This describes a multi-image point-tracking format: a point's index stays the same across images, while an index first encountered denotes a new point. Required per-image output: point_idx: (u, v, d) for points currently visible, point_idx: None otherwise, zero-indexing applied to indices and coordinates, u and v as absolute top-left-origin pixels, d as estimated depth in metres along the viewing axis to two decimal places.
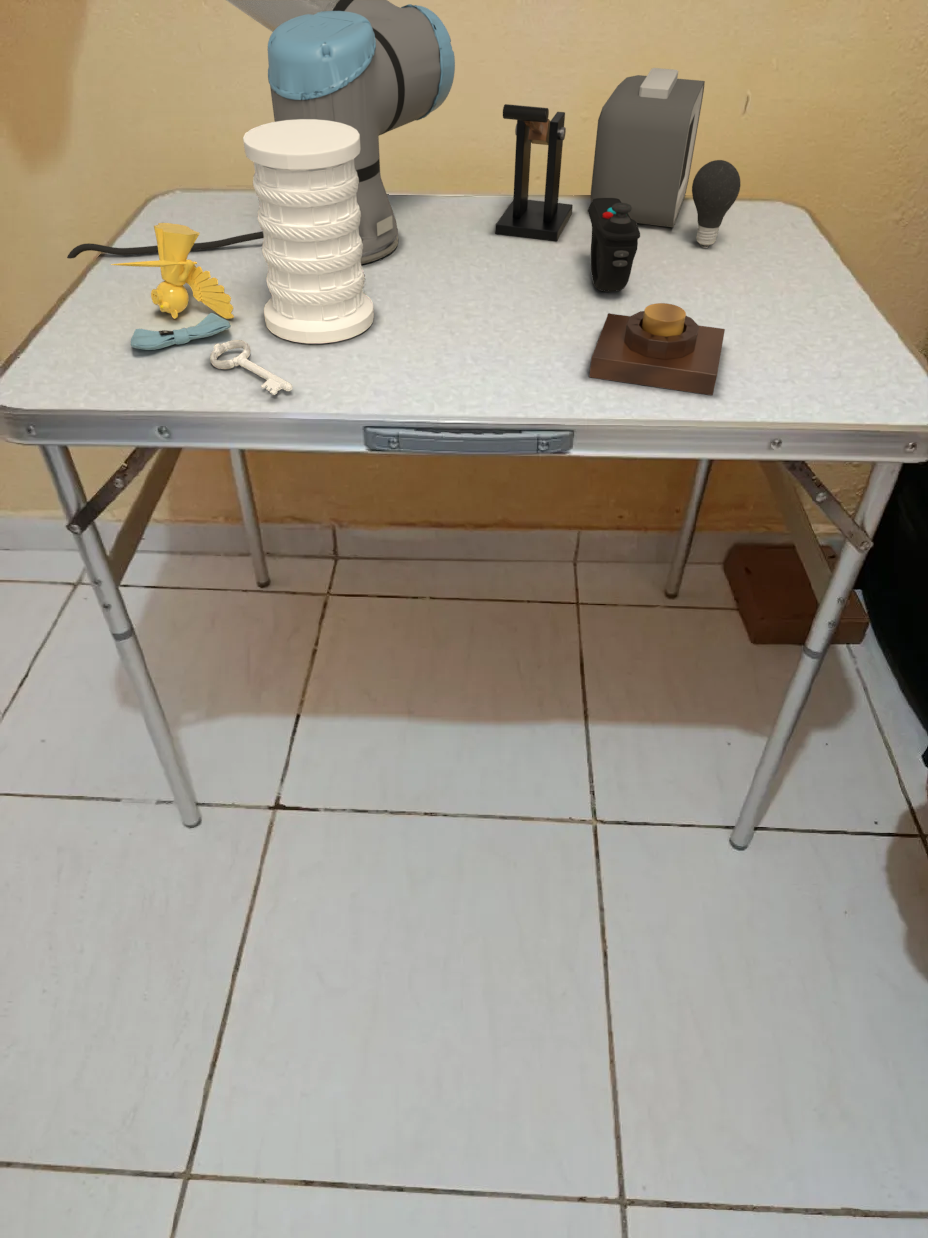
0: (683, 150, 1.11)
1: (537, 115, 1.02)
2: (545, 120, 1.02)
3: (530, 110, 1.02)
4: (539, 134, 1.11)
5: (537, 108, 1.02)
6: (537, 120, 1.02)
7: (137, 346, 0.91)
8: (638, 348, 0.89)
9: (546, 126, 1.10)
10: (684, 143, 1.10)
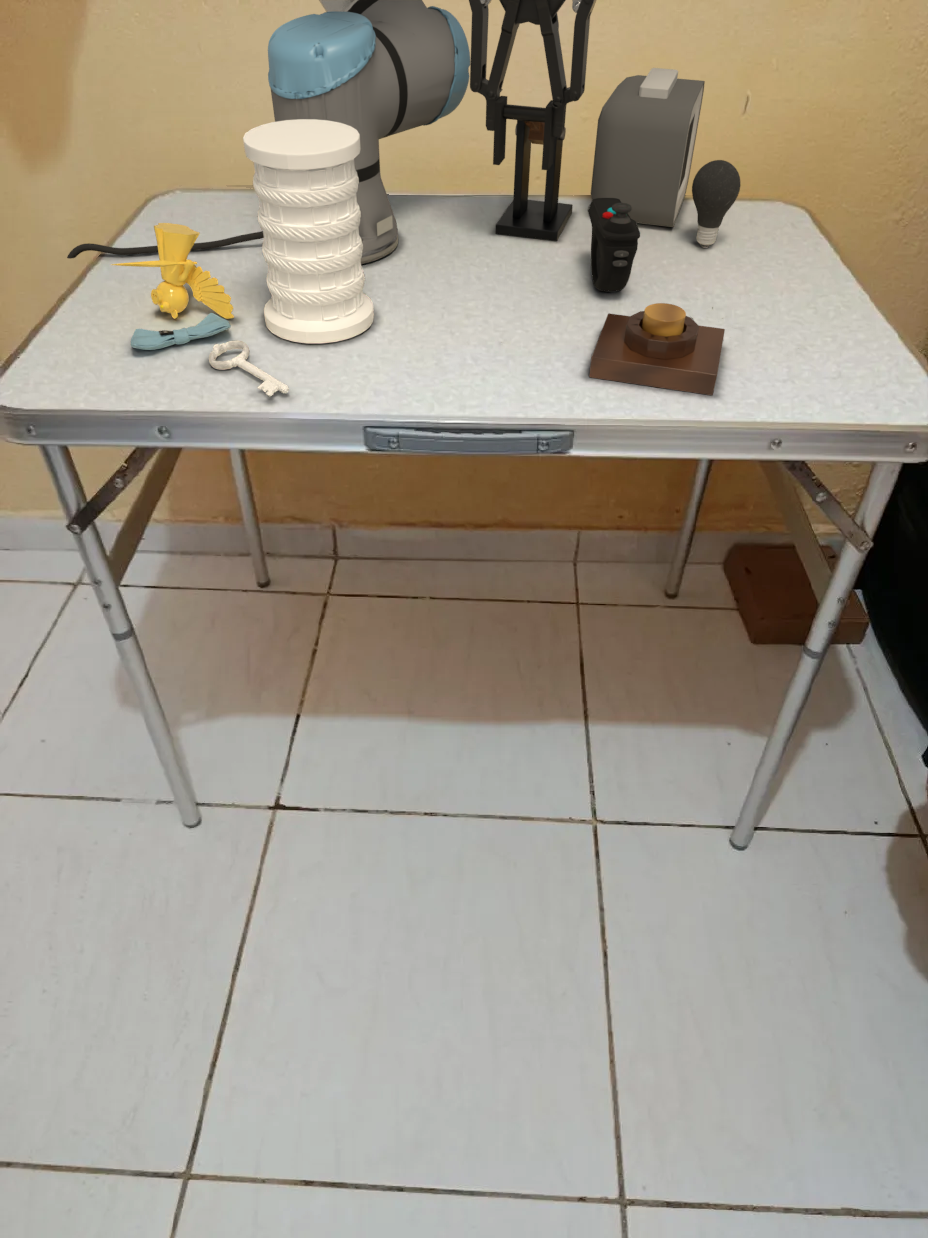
0: (683, 150, 1.11)
1: (537, 115, 1.02)
2: None
3: (530, 110, 1.02)
4: (539, 134, 1.11)
5: (537, 108, 1.02)
6: (537, 120, 1.02)
7: (137, 346, 0.91)
8: (638, 348, 0.89)
9: None
10: (684, 143, 1.10)
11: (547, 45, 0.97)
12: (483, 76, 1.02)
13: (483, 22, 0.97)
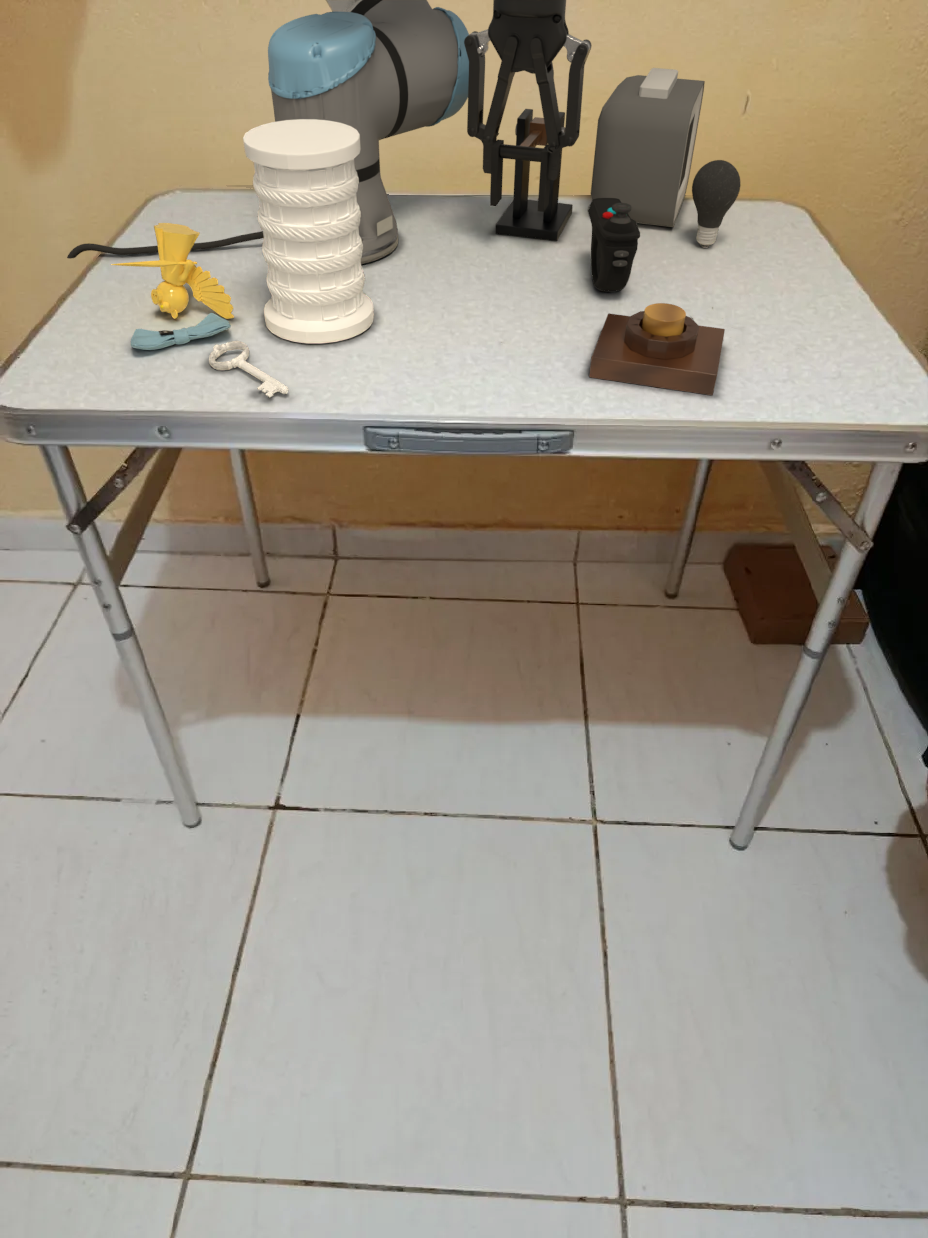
0: (683, 150, 1.11)
1: (533, 157, 1.04)
2: None
3: (526, 153, 1.04)
4: None
5: (532, 150, 1.04)
6: None
7: (137, 346, 0.91)
8: (638, 348, 0.89)
9: (545, 131, 1.11)
10: (684, 143, 1.10)
11: (542, 93, 0.99)
12: (480, 121, 1.04)
13: (480, 70, 1.00)
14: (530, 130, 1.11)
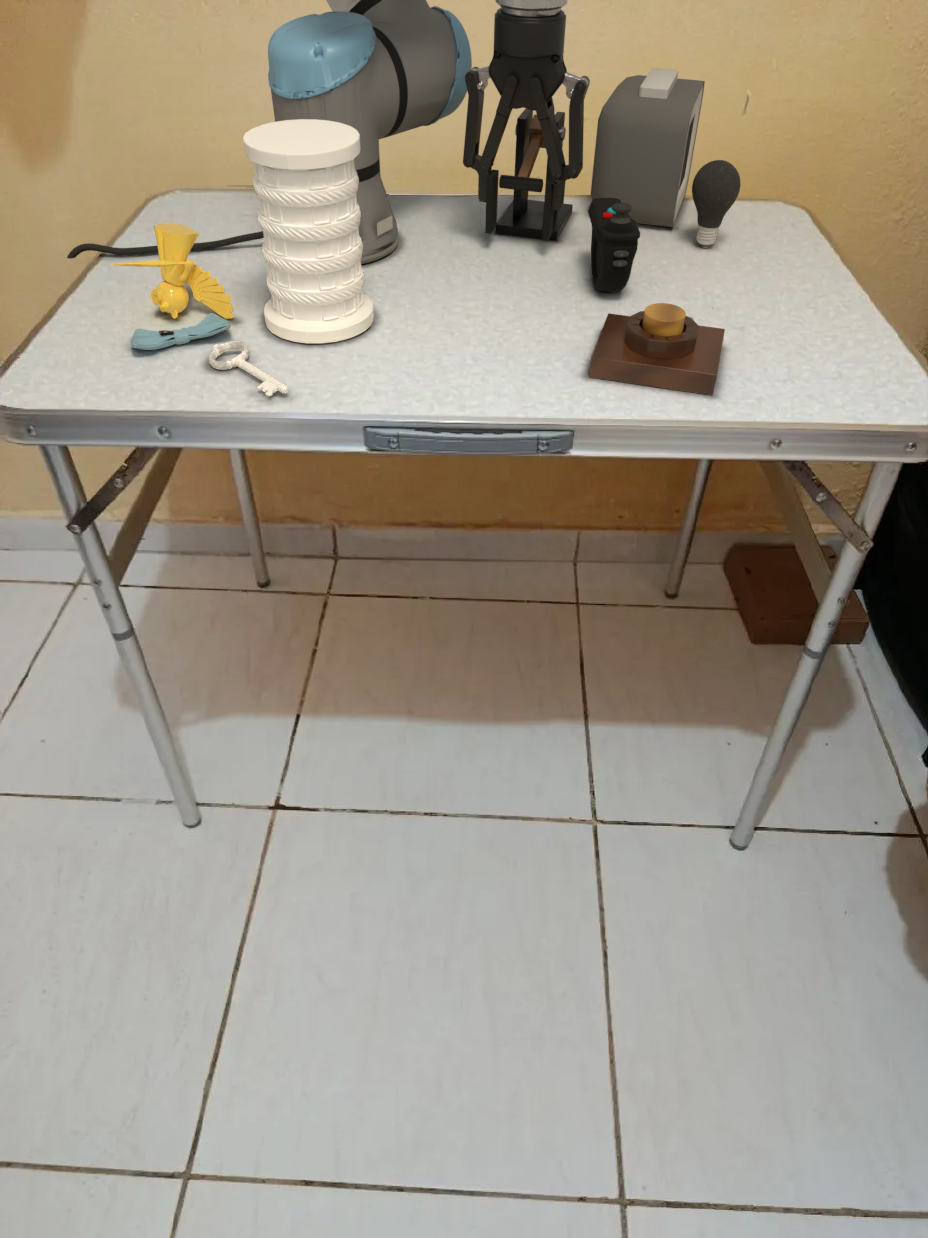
0: (683, 150, 1.11)
1: (532, 189, 1.07)
2: None
3: (525, 186, 1.07)
4: None
5: (531, 183, 1.07)
6: None
7: (137, 346, 0.91)
8: (638, 348, 0.89)
9: None
10: (684, 143, 1.10)
11: (544, 128, 1.02)
12: (476, 152, 1.07)
13: (478, 105, 1.02)
14: (530, 135, 1.11)
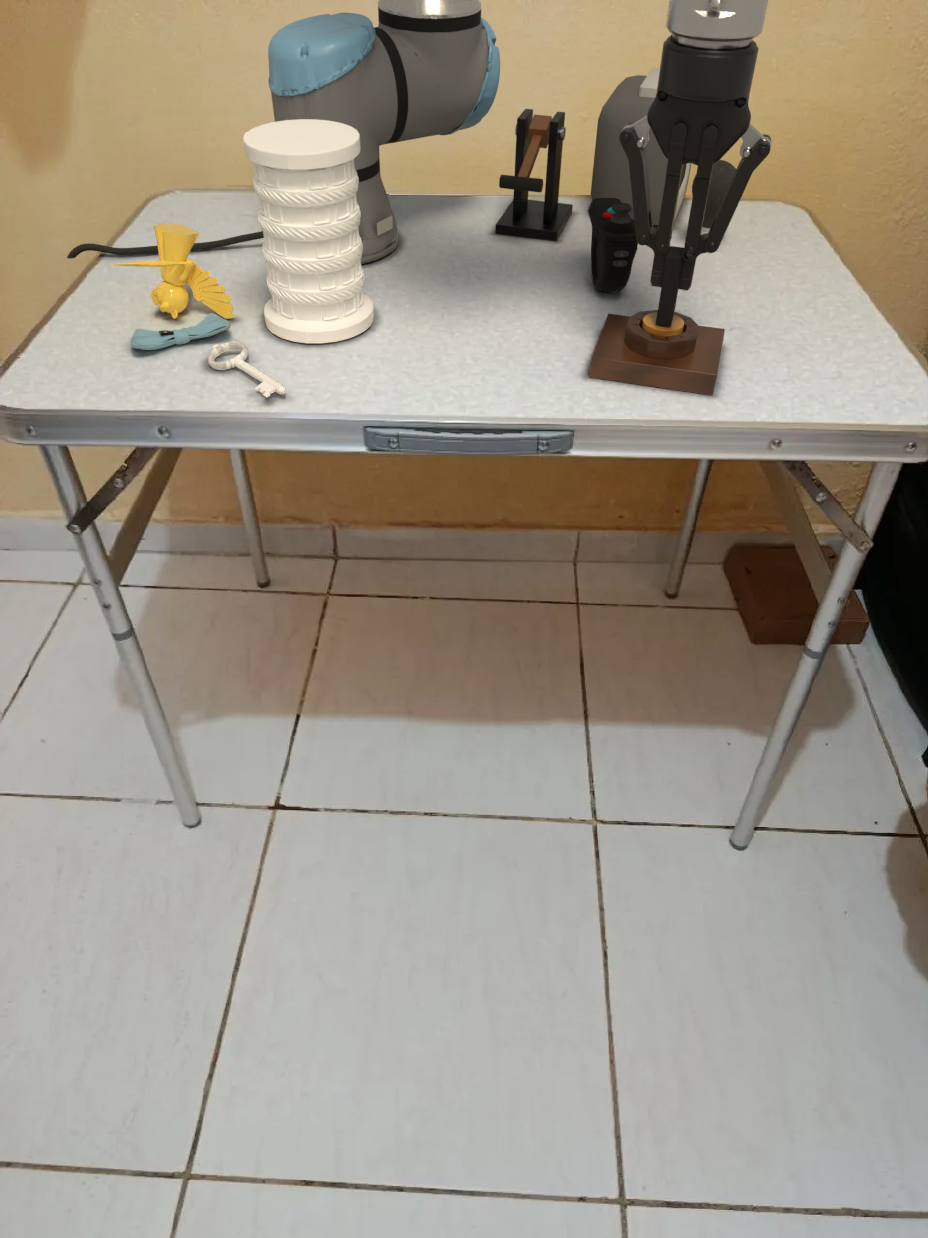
0: None
1: (532, 189, 1.07)
2: None
3: (525, 186, 1.07)
4: None
5: (531, 183, 1.07)
6: None
7: (137, 346, 0.91)
8: (638, 348, 0.89)
9: (545, 136, 1.11)
10: None
11: (698, 190, 0.80)
12: (649, 224, 0.85)
13: (643, 166, 0.80)
14: (530, 135, 1.11)
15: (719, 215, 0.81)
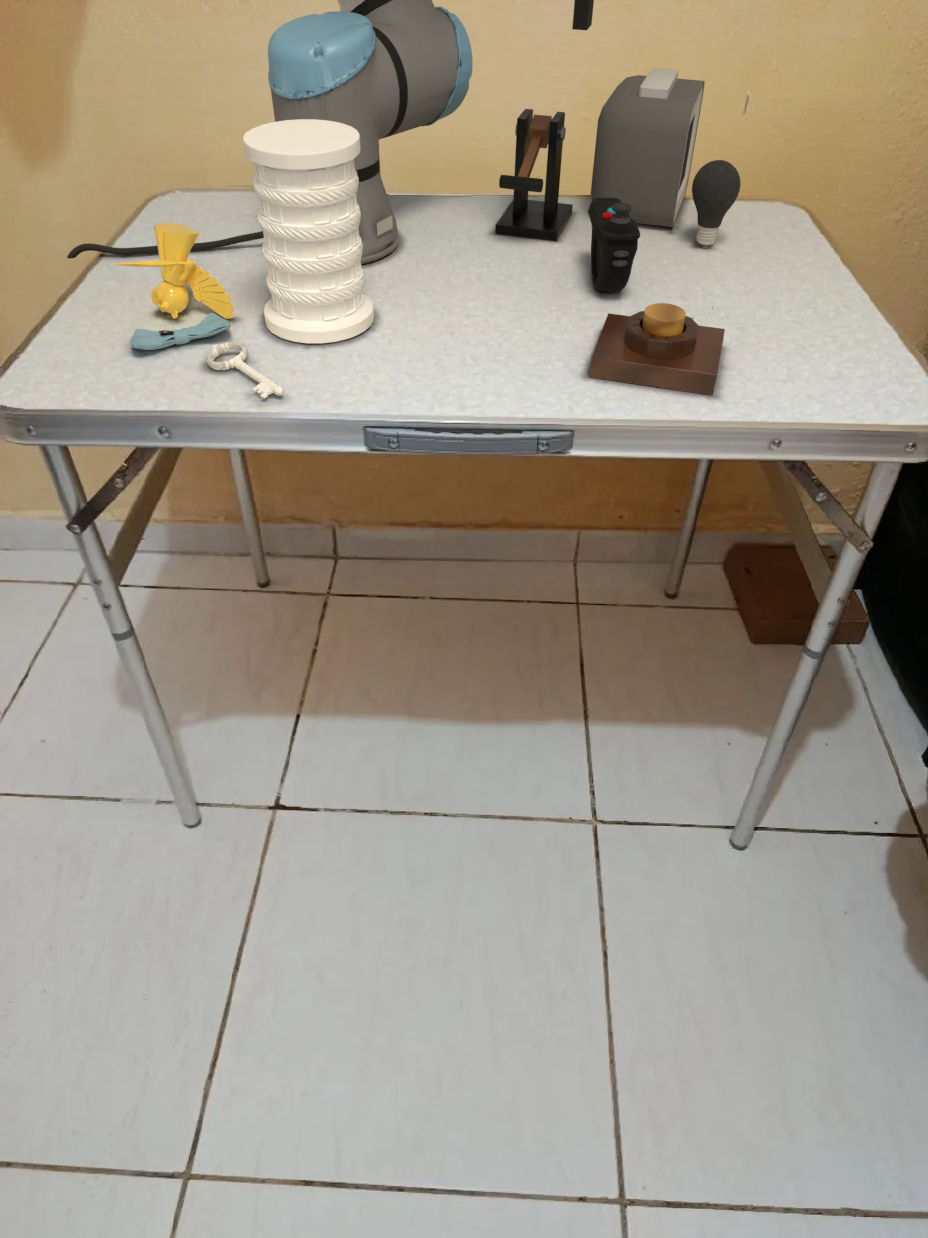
0: (683, 150, 1.11)
1: (532, 189, 1.07)
2: None
3: (525, 186, 1.07)
4: None
5: (531, 183, 1.07)
6: None
7: (137, 346, 0.91)
8: (638, 348, 0.89)
9: (545, 136, 1.11)
10: (684, 143, 1.10)
11: None
12: None
13: None
14: (530, 135, 1.11)
15: None
